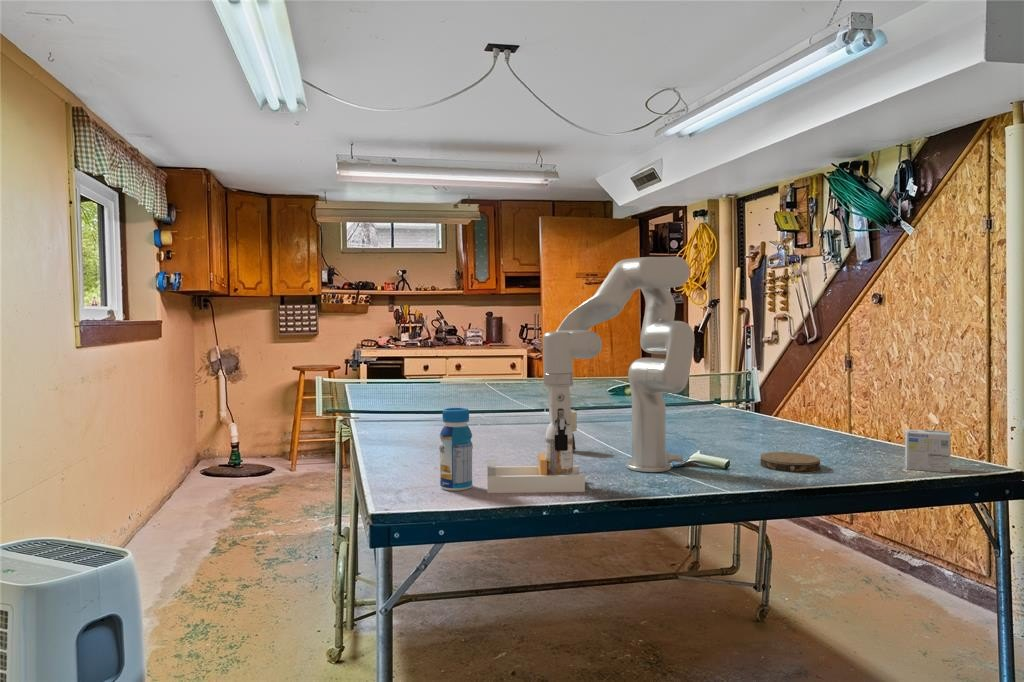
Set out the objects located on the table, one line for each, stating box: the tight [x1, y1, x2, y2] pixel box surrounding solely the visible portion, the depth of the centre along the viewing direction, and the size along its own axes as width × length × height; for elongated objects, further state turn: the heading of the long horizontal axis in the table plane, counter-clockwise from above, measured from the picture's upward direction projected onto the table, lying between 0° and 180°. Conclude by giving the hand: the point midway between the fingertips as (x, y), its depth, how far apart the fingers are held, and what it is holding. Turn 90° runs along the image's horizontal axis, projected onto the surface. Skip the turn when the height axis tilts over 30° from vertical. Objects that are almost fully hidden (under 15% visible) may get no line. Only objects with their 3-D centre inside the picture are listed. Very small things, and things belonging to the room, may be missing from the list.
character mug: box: [570, 410, 578, 451], centre depth 215 cm, size 11×7×13 cm, turn 11°
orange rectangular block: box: [537, 452, 547, 475], centre depth 169 cm, size 2×9×6 cm, turn 2°
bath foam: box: [544, 422, 574, 475], centre depth 169 cm, size 7×7×20 cm
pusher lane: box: [486, 459, 586, 494], centre depth 169 cm, size 24×12×6 cm, turn 92°
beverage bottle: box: [438, 407, 474, 492], centre depth 168 cm, size 8×8×20 cm
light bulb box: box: [904, 428, 952, 473], centre depth 187 cm, size 11×7×11 cm, turn 65°
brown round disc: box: [760, 451, 821, 474], centre depth 191 cm, size 16×16×3 cm
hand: (559, 446), depth 169 cm, fingers open, 9 cm apart
